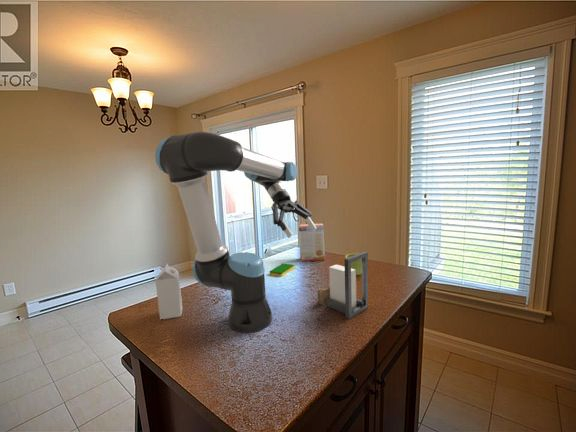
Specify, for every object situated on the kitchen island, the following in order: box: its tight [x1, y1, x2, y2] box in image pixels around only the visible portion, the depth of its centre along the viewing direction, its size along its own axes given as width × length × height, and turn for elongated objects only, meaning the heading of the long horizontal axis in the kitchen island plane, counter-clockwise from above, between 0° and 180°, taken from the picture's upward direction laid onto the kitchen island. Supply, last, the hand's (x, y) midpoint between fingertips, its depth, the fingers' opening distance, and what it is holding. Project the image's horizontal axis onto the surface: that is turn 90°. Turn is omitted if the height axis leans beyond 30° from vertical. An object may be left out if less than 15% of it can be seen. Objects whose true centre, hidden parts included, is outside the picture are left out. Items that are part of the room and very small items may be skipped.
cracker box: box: [298, 223, 326, 262], centre depth 163 cm, size 14×6×21 cm, turn 84°
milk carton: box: [154, 262, 184, 321], centre depth 104 cm, size 7×7×19 cm
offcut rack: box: [326, 251, 369, 320], centre depth 102 cm, size 12×12×21 cm
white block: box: [328, 264, 357, 309], centre depth 104 cm, size 4×9×15 cm, turn 41°
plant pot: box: [345, 253, 362, 276], centre depth 138 cm, size 9×9×9 cm
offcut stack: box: [317, 283, 330, 306], centre depth 110 cm, size 8×3×6 cm, turn 131°
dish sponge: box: [268, 263, 295, 278], centre depth 146 cm, size 7×14×2 cm, turn 150°
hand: (303, 232), depth 117 cm, fingers open, 13 cm apart
